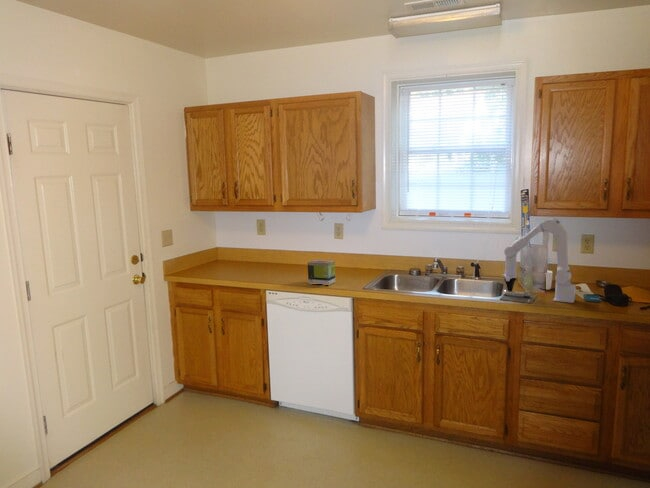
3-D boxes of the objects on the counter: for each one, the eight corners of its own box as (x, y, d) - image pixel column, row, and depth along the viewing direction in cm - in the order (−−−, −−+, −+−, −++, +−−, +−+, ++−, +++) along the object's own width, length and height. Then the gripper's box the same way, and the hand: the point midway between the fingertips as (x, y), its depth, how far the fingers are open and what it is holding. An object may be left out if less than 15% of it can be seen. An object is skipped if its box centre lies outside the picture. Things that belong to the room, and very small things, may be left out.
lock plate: (536, 296, 260) (536, 295, 260) (531, 303, 247) (531, 302, 247) (505, 293, 268) (506, 292, 268) (499, 299, 256) (499, 298, 256)
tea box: (335, 282, 306) (335, 260, 304) (328, 286, 298) (328, 263, 295) (315, 281, 313) (314, 259, 311) (307, 284, 305) (307, 262, 302)
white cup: (553, 287, 277) (553, 270, 275) (550, 290, 271) (551, 273, 269) (538, 286, 281) (539, 269, 280) (535, 289, 275) (536, 272, 273)
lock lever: (531, 296, 258) (531, 292, 257) (529, 298, 255) (529, 293, 254) (504, 293, 265) (504, 289, 265) (502, 295, 262) (502, 290, 262)
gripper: (506, 264, 273) (505, 287, 275) (500, 269, 261) (499, 293, 263) (519, 265, 270) (518, 288, 272) (513, 270, 258) (512, 294, 260)
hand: (509, 291), depth 267 cm, fingers closed
